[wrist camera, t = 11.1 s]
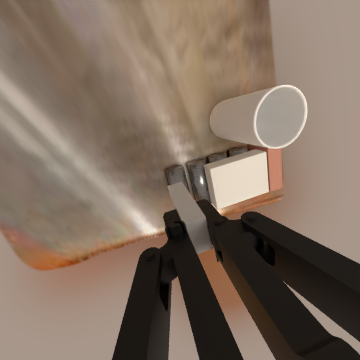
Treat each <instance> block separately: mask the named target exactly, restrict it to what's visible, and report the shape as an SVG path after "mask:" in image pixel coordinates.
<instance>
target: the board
mask: <svg viewBox="0 0 360 360" xmlns="http://www.w3.org/2000/svg"><path fill="white" fill-rule="evenodd" d="M204 169H205V174H206V179H207V184H208V189H209V194H210V199H211V202H212V204H213V205H214V206H215V207H216V208H217V209H220V208H223V207H226V206H229V205H232V204H235V203H238V202H241V201H243V200H246V199H249V198H252V197H255V196H258V195H261V194H264V193H267V192H269V187H268V171H267V155H266V152H265V151H261V150H257V149H254V150H251V151H248V152H244V153H241V154H238V155H235V156H232V157H228V158H225V159H222V160H219V161H215V162H212V163H209V164H206V165H204Z"/></svg>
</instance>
